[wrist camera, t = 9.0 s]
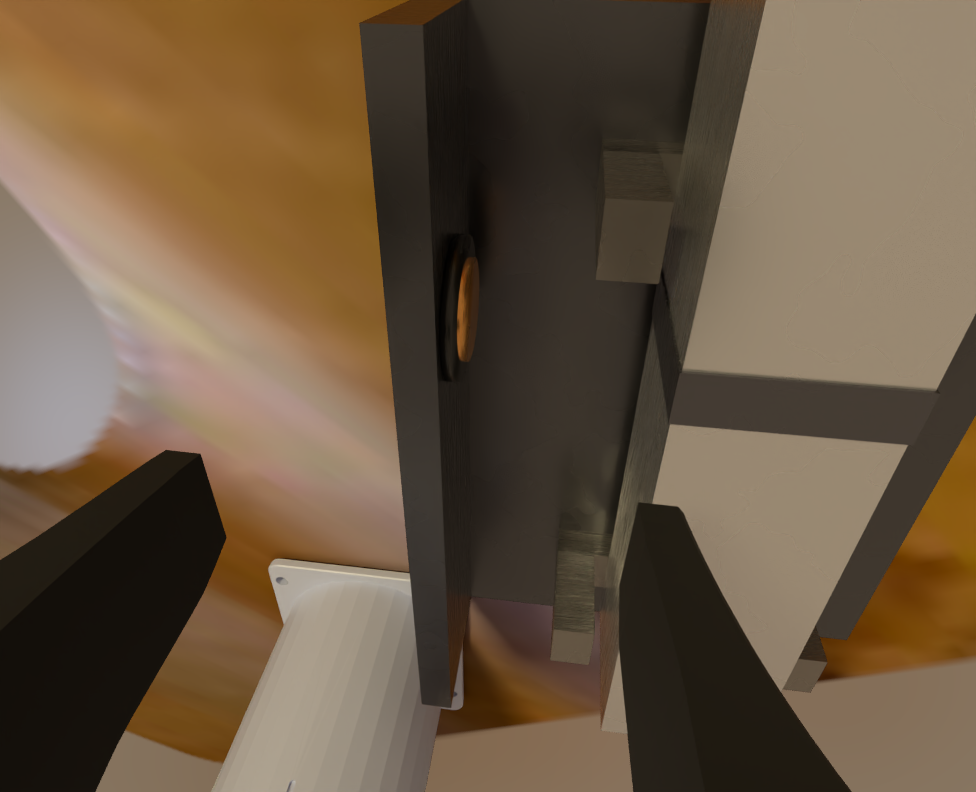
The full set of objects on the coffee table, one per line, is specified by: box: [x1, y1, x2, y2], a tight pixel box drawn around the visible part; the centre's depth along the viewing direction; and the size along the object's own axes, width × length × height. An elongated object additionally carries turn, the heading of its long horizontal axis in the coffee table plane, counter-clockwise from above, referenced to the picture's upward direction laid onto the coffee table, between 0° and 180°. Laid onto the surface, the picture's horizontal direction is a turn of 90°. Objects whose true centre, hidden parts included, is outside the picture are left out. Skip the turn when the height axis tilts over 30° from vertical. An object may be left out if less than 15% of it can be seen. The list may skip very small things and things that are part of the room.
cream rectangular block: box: [600, 0, 976, 734], centre depth 15 cm, size 20×4×4 cm, turn 179°
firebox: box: [359, 0, 976, 708], centre depth 18 cm, size 20×15×6 cm
